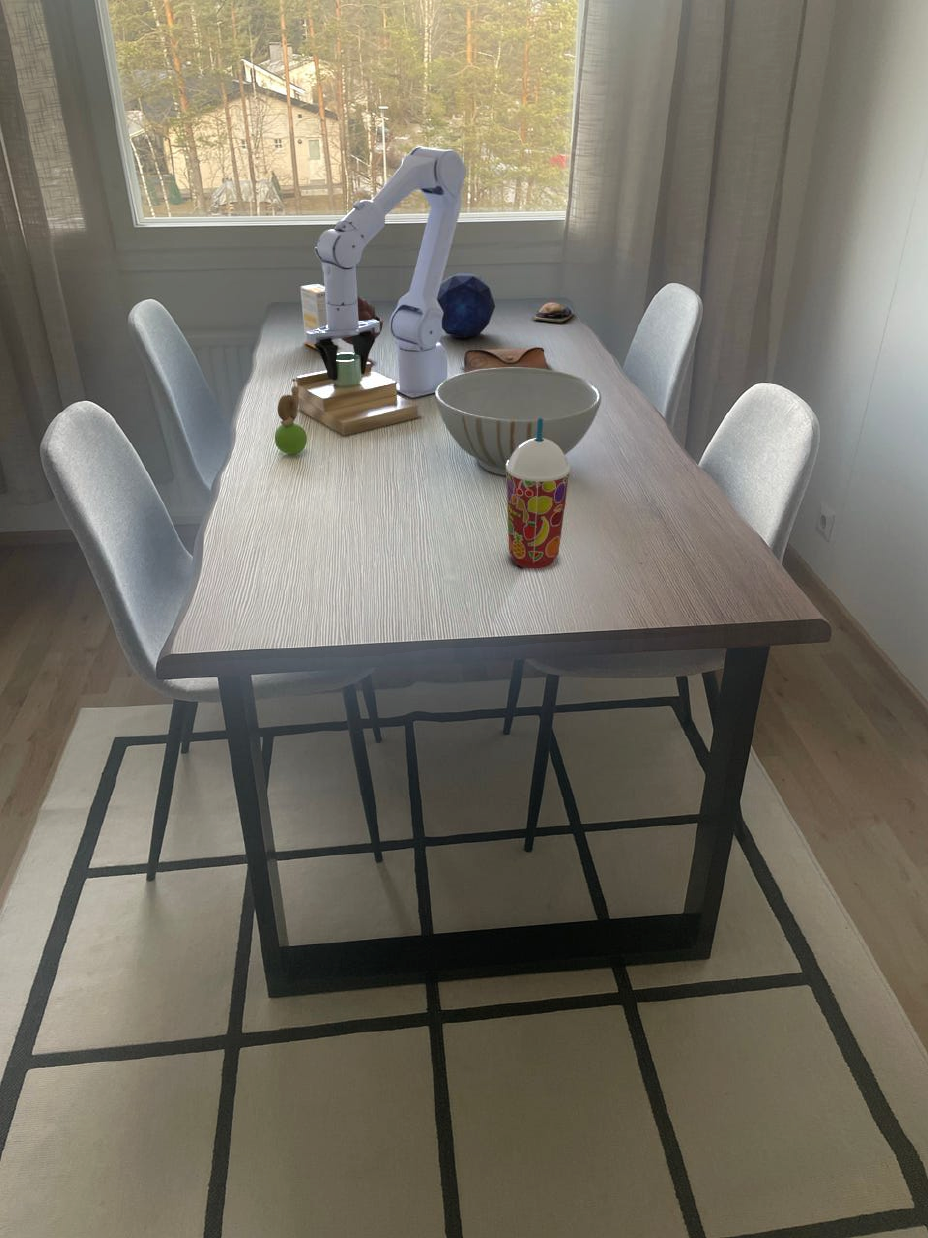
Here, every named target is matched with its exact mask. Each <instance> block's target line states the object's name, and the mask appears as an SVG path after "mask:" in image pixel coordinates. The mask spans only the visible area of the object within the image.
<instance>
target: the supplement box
mask: <svg viewBox="0 0 928 1238" xmlns="http://www.w3.org/2000/svg"><path fill="white" fill-rule="evenodd" d="M299 288H300V299H301V310H302V320H303V331H304V341H305V342H304V343H305V345H308V346H309V347H311V348H314V349H316V347H315V346H314V344H310V343H307V340H306V332H307V331H311V330H315V329H318V328H321V327H324V326H327V312H326V298H325V285H322V284H319V283H315V284H308V285H301V286H299ZM332 342H333V343H334V344H335V345H337V346H338V347H339V340H338V339H333V340H332Z"/></svg>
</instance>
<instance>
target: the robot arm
mask: <svg viewBox="0 0 928 1238" xmlns="http://www.w3.org/2000/svg"><path fill="white" fill-rule="evenodd" d="M466 174H467V168H466V166H465V164H464V161H463V159H462V157H461V155H460V154H459V153H458V151H456V150H454V149H438V148H430V147H425V146H422V145H419V146H415V147H414V148H412V149H411V151H410V152H408V154H407V155H405V156H404V157H402V160H401V165H400V167H399V168H397V170H396V171H395V173H394V174H393V175H392V176H391V177H390V178H389V180H388V181H387V182H386V183H385V184H384V185H383V186H382V188H381V189H380V190H379V191H378V192H377V193H376V194H375V196H373V198H372V199H370V200H369V199H362V200H356V201H355V202H354V203H353V204H352V207H353V208H352V210H351V211H350V212H348V213H347V214H346V215H345V216H344V217H343V218H342V219H341V220H338V221H337V222H336V223H335V227H334V228H333V229H326V230H325V231H323V232H322V233H321V234H320V236H319V237H318V240H317V244H316V246H315V247H314V253H315V255H316V258H317V260H318V261H320V263H321V271H323V282H324V283H323V284H324V287H325V298H326V312H327V326H324V327H321V328H318V329H315V330H311V331H307V332H306V340H307V343H310V344H314V346H315V347H316V348H315V350H317V352H318V354H319V356H320V358H321V360H322V362H323V364H324V367H325V371H327V374H328V378H329V379H331V380H337V365H336V360H337V354H338V350H339V345H338V346H337V345H335V344H334V343H333V342H332V340H333V339H341V338H344V337H349V336H351V339H352V343H353V345H352V348H353V352H354V354H358V355H360V357H361V375H362V374H365V368H366V363H367V359H368V358H369V355H370V354H371V350H372V348H373V346H374V344H375V342H376V339H375V336H374V335H371V332H374V333H377V332H380V324H379V321H376V320H368V321H359V320H358V302H357V295H358V286H357V285H358V284H357V268H356V267H357V266H356V265H358V264H359V263H360V261H361V259H362V256H363V251H364V249H365V248H366V246H367V245H368V244H369V243H370V242H371V241H372V239H373V238H374V237H376V236H377V235H378V234H379V233H380V231H381V230H382V229H384V227H385V226H386V216H387V215H388V214H389V213H390V212H391V211H392V210H394V209H395V208H396V207H397V206H398V205H399V204H400V203H401V202H402V201H403V200H405V199H406V198H407V197H408V196H409V195H411V194H412V193H413V192H414V191H415V190H419V191H420V192H421V193H422V195H423V196H424V197H425V198H426V200H427V202H428V204H429V206H430V209H429V213H428V217H427V221H426V225H425V229H424V233H423V237H422V241H421V245H420V249H419V252H418V256H417V260H416V264H415V268H414V272H413V276H412V280H411V282H410V287H409V291H408V292H407V293H406V294H404V295H403V296H401V297H400V298H399V299H398V302H397V305H396V308H395V310H394V311H393V312H392V314H391V315H390V318H389V323H388V325H389V326H388V327H389V332H390V334H391V336H392V337H393V338H395V344H396V345H397V361H398V362H397V363H398V383H397V393H400V394H403V395H404V396H407V397H409V398H412V399H413V398H418V397H423V396H427V395H431V394H435V392H436V389H437V387H438V386H439V385H440V384H441V383H442V382H444V381H445V380H447V379H448V354H447V351H446V349H445V347H444V345H443V344H442V343H440V340H441V339H442V335H443V328H442V317H443V310H442V309H441V307H440V305H439V303H438V301H437V296H438V293H439V289H440V285H441V283H442V282H443V278H444V273H445V269H446V266H447V263H448V258H449V255H450V250H451V246H452V243H453V239H454V236H455V232H456V229H457V224H458V221H459V218H460V217H459V216H460V213H461V209H462V205H463V192H462V191H463V186H464V183H465V179H466V176H467V175H466ZM380 333H381V332H380Z"/></svg>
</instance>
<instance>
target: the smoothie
mask: <svg viewBox="0 0 928 1238" xmlns="http://www.w3.org/2000/svg"><path fill="white" fill-rule="evenodd" d="M542 429H543V419H542V418H538V425H537V438H533V439H529V440H526V441H525V442H523V443H521V444H520V445H519V446H518V447H517V448H516V449H515V450H514V452H513V454H512V456H511V458H510V459H509V460H508V461H507V463H506V465H505V466H506V475H505V476H506V477H505V478H506V479H505V480H506V507H507V508H506V509H507V511H506V512H507V535H508V537H507V538H508V540H507V541H508V552H509V554H510V555H511V557H512V561H513V562H514V564H516V565H518V566H519V567H523V568H526V569H532V570H533V569H534V570H535V569H544V568H547V567H549V566H552V564H553V563H554V561H555V558H556V557H558V556H559V552H560V544H561V539H562V531H563V523H564V515H565V508H566V500H567V494H568V486H569V479H570V472H571V469H572V467H571V464H570V463H569V462H568V460H567V457H566V455H564V453H563V451H562V450H561V448H560V447H559V446H558V445H557V444H555V443H554V442H552V441H550V440H548V439H544V438H542Z"/></svg>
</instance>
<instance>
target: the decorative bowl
mask: <svg viewBox="0 0 928 1238" xmlns="http://www.w3.org/2000/svg"><path fill="white" fill-rule="evenodd" d="M434 397H435V402H436V406H437V409H438V411H439V414H440V417H441V420H442V421H443V423H444V425H445V427H446V429H447V431H448V432H449V434H450V436H451V437H452V438H453V439H454V441H455V442H456V443H457V444H458V446H459V447H460V448H462V449H463V450H464V451H465V452H466V453H467V454H468V455H470V456H471V457H473V458H474V459H476V460H478V463H479V466H481V468H483V469H485V471H488V472H490V473H493V474H496V475H501V476H506V466H505V465H506V463H507V461H508V460H509V459H510V458H511V456H512V454H513V452H514V450H515V449H516V448H517V447H518V446H519V445H520V444H521V443H523V442H525V441H526V440H529V439H533V438H537V425H538V418H542V419H543V429H542V438H544V439H548V440H550V441H552V442H554V443H555V444H557V445H558V446H559V447H560V448H561V450H562V451H563V453H564V455H565V456H566V455H568V453H570V452H571V451H572V450H573V449H574V448H575V447H576V446H577V445H578V444H579V443H580V442H581V440H582V439H583V438H584V437H585V435H586V434H587V432H588V431H589V429H590V428H591V426H592V425H593V423H594V421H595V418H596V416H597V413H598V412H599V409H600V407H601V403H602V393H601V391H600V389H599V388H598V387H597V386H596V385H594V384H593V383H591V382H590V381H588V380H586V379H584V378H582V377H580V376H576V375H574V374H570V373H567V372H562V371H558V370H552V369H549V370H546V369H537V368H521V367H506V368H490V369H482V370H475V371H470V372H466V371H465V372H463V373H459V374H456V375H454V376H451V377H449V378H447V380H445V381H444V382H442V383H441V384H440V385H439V386H438V387H437V389H436V392H435V393H434Z"/></svg>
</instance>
